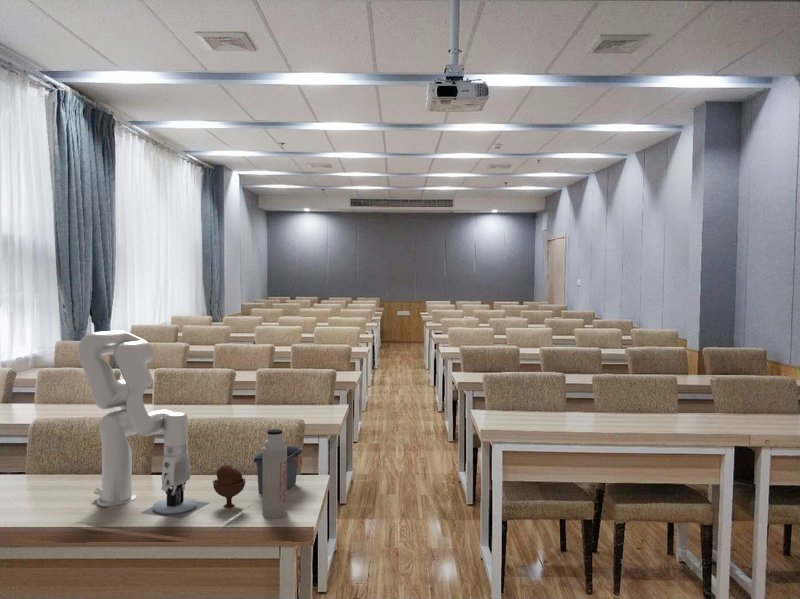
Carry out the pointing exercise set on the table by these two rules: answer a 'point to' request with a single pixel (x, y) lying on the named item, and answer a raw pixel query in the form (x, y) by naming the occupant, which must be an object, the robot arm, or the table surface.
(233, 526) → the table surface
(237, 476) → the ice cream bowl
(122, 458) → the robot arm
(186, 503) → the lid
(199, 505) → the mat
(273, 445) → the thermos bottle
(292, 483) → the storage bin
